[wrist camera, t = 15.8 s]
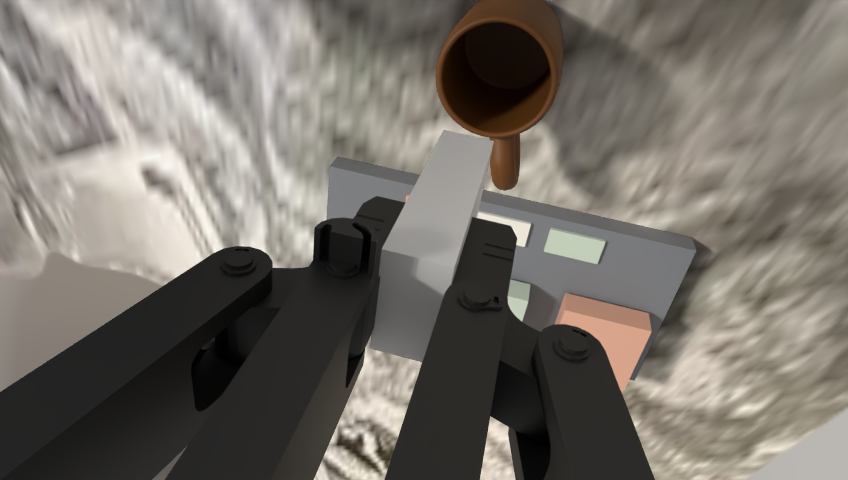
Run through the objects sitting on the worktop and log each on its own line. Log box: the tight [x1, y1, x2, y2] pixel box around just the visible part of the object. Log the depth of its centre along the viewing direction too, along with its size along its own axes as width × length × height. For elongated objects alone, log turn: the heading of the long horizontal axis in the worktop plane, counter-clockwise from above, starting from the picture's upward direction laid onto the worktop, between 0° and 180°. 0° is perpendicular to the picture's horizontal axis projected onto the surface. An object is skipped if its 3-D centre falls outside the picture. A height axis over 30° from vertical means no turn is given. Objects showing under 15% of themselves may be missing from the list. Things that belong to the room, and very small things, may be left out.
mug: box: [436, 0, 563, 190], centre depth 40 cm, size 12×8×9 cm, turn 7°
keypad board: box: [327, 157, 696, 381], centre depth 52 cm, size 30×14×2 cm, turn 82°
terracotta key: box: [555, 293, 652, 392], centre depth 51 cm, size 7×7×2 cm
